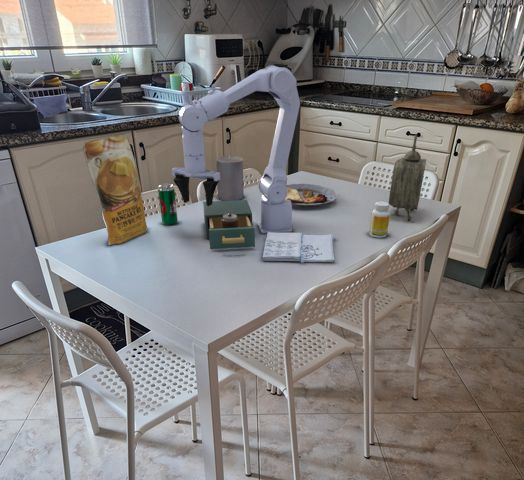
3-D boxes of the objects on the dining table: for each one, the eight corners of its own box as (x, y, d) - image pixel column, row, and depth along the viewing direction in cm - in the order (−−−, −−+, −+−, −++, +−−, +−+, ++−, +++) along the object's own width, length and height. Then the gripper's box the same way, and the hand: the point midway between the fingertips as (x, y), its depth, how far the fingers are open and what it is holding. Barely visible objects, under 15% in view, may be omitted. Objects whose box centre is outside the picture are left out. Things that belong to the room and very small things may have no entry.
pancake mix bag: (94, 244, 141) (73, 142, 126) (139, 225, 155) (125, 130, 139) (111, 249, 138) (91, 145, 123) (155, 229, 152) (143, 132, 136)
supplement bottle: (365, 233, 149) (369, 201, 143) (380, 230, 150) (385, 199, 145) (374, 239, 144) (379, 207, 139) (390, 236, 146) (395, 205, 140)
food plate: (339, 211, 166) (340, 200, 164) (271, 210, 166) (271, 200, 164) (331, 190, 187) (332, 180, 185) (271, 190, 187) (271, 180, 185)
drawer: (256, 252, 134) (256, 233, 131) (210, 254, 133) (209, 235, 130) (249, 231, 148) (249, 213, 144) (208, 233, 146) (206, 215, 143)
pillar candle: (217, 194, 183) (215, 152, 174) (243, 193, 184) (242, 151, 175) (218, 201, 175) (215, 158, 166) (245, 200, 176) (244, 157, 167)
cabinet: (252, 236, 146) (252, 213, 142) (206, 239, 145) (204, 215, 141) (247, 221, 157) (246, 199, 153) (204, 223, 156) (203, 201, 152)
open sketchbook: (267, 236, 146) (267, 229, 145) (334, 238, 145) (335, 231, 143) (261, 262, 131) (261, 254, 129) (336, 265, 129) (336, 257, 128)
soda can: (174, 226, 154) (170, 188, 147) (159, 225, 155) (155, 187, 148) (180, 221, 158) (176, 183, 151) (165, 220, 159) (161, 182, 152)
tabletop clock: (414, 224, 155) (428, 140, 141) (385, 221, 158) (397, 139, 144) (417, 210, 166) (431, 132, 152) (390, 207, 169) (401, 130, 155)
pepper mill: (237, 233, 143) (236, 210, 139) (239, 239, 139) (238, 215, 135) (222, 234, 143) (221, 211, 139) (223, 240, 139) (222, 216, 135)
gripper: (163, 154, 132) (169, 204, 140) (210, 159, 127) (213, 210, 135) (177, 149, 137) (181, 197, 145) (222, 154, 133) (225, 203, 140)
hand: (198, 203), depth 140 cm, fingers open, 7 cm apart
